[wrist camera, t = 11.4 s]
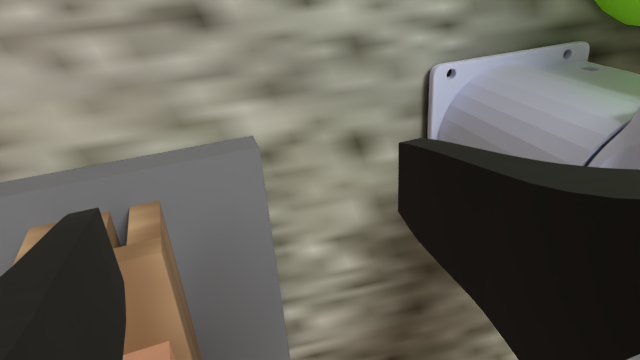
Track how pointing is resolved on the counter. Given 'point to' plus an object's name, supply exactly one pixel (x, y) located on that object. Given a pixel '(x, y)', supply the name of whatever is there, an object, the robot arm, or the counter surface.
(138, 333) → the pallet
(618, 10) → the wineglass
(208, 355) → the dock
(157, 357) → the terracotta crate
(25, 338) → the robot arm
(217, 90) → the counter surface
